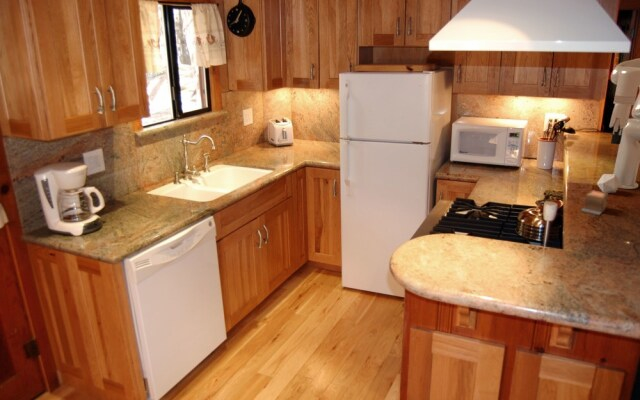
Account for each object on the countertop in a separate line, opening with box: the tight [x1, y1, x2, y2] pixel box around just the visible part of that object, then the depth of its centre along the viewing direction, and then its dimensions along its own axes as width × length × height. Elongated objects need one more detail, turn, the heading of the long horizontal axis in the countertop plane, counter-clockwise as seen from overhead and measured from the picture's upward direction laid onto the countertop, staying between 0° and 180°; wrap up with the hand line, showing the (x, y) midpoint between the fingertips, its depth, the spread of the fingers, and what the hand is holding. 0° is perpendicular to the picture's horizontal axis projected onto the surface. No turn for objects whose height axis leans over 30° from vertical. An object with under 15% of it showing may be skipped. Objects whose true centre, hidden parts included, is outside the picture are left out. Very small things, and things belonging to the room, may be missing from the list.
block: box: [583, 189, 609, 212], centre depth 212 cm, size 6×6×8 cm
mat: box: [580, 206, 606, 216], centre depth 212 cm, size 10×7×1 cm
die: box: [596, 173, 622, 194], centre depth 232 cm, size 8×9×10 cm
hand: (615, 143), depth 215 cm, fingers closed
